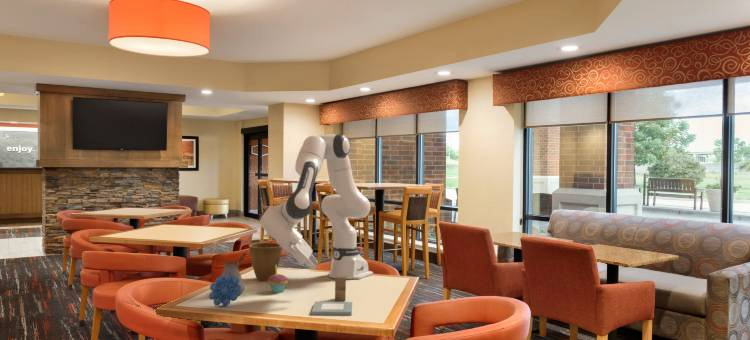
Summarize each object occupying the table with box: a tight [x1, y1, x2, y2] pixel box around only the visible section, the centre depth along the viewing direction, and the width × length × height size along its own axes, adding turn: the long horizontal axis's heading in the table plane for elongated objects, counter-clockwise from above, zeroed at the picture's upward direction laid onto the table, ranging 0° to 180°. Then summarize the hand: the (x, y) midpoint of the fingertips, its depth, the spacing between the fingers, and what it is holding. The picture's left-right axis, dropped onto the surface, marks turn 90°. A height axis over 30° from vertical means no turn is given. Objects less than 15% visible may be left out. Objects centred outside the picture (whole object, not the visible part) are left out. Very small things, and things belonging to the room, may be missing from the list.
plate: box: [311, 301, 353, 316], centre depth 198 cm, size 14×14×1 cm
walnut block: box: [334, 276, 347, 302], centre depth 213 cm, size 4×4×9 cm
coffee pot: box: [220, 251, 250, 296], centre depth 224 cm, size 21×12×15 cm, turn 170°
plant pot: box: [248, 242, 283, 282], centre depth 249 cm, size 15×15×16 cm
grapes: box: [208, 274, 241, 307], centre depth 202 cm, size 12×7×12 cm, turn 98°
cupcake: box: [266, 265, 289, 294], centre depth 226 cm, size 9×8×12 cm
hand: (316, 266), depth 213 cm, fingers open, 8 cm apart
